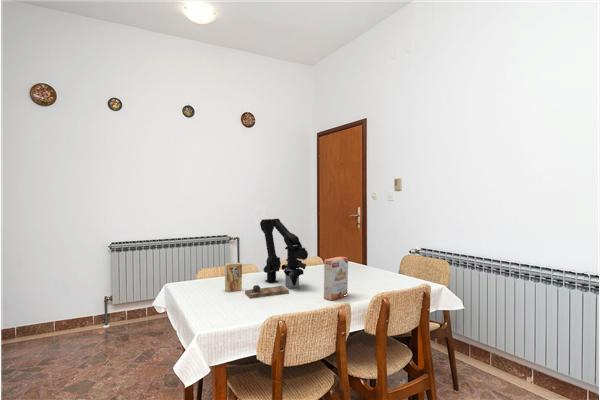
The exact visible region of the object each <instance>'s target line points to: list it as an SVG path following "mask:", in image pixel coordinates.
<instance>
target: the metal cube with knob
mask: <svg viewBox="0 0 600 400" xmlns="http://www.w3.org/2000/svg"><path fill="white" fill-rule="evenodd" d="M290 274H292V273H289V275H285V278H284V279H285V285H284V287H285V288H286V289H288V290H295V289H299V288H300V275H299V276H298V278H297V282H296V285H293V282H292V279H291V275H290Z"/></svg>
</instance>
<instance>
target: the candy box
mask: <svg viewBox="0 0 600 400" xmlns="http://www.w3.org/2000/svg"><path fill="white" fill-rule="evenodd" d="M224 278H225V279H224V291H225V292H227V293H230V292H238V291H243V263H241V262H233V263H232V262H231V263H225V265H224Z"/></svg>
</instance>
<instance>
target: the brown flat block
mask: <svg viewBox="0 0 600 400" xmlns="http://www.w3.org/2000/svg"><path fill="white" fill-rule="evenodd" d="M244 294H245V295H246V296H247V297H248V298H249V299H256V298H257V299H258V298H265V297H273V296H280V295H289V294H290V289H288V288H287V287H285V286H284V285H279V286H278V285H277V286H268V287H262V288H261V287H260V285H259V284H256V285H253V286H252V288H251V289H245V290H244Z"/></svg>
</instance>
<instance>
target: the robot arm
mask: <svg viewBox="0 0 600 400" xmlns="http://www.w3.org/2000/svg"><path fill="white" fill-rule="evenodd" d="M259 225H260V229H261V231H262V232H263V233H264V239H265V240H264V241H265V245H266V250H267V258H266V265H265V266H264V267H263V273H266V279H265V280H264V281H265V282H266V283H267V284H273V283H278V282H279V281H278V280H277V272H279V271H280V269H281V270H283V273H284V274H285V275H289V273H292V274H290V275H291V279H292V282H293V285H296V282H297V278H298V276H299V277H300V276H301V275H304V270H306V267H307V264H306V263H304V262H302V261H304V260H305V261H306V260H307V258H308V257H309V253H308V250H307V249H306V248H305V247H303V245H302V243H301V241H300V239H299V238H300V237H298V236H297V235H296V234H294V233H293V232H291V231H290V230H289V229H288V228H287V227H286V226H285V225H284V224H283V223H282V221H281V220H280V219H279V218H266V219H265V218H264V219H261V221H260V222H259ZM274 228H275V229H276V230H277V232H278V233H279V234H280V235H281V237H282V238H283V241H284V243H285V245H286V247H284V249H285V250H286V251H287V253H286V254H287V257H286V260H285V261H286V262H287V263H286V264H282V263H281V258H280V257H278V256H277V254H276V253H277V251H276V246H275V240H274V235H273V234H274V233H273V232H274V230H275V229H274Z"/></svg>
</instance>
